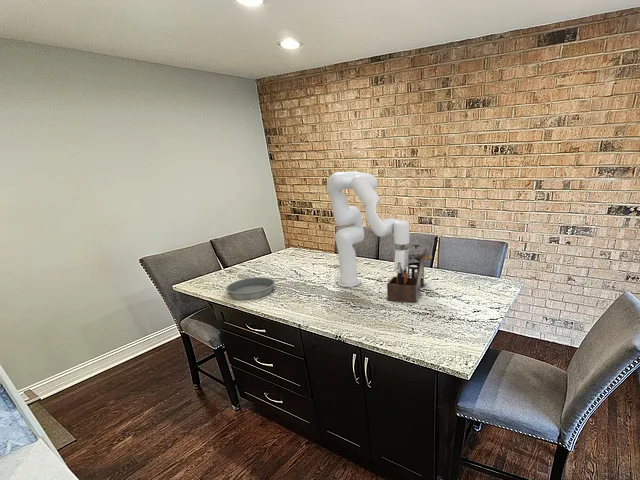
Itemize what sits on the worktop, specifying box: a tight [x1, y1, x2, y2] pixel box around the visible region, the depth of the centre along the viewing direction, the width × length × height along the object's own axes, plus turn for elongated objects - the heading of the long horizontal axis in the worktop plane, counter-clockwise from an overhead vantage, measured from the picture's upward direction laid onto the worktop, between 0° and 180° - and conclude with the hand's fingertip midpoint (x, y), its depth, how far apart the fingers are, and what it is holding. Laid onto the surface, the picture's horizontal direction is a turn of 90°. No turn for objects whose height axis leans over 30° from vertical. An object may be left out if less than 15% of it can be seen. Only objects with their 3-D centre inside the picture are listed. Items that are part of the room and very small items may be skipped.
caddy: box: [386, 276, 422, 304], centre depth 172 cm, size 15×12×9 cm
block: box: [396, 271, 408, 284], centre depth 170 cm, size 4×4×4 cm
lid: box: [415, 248, 433, 285], centre depth 164 cm, size 15×12×5 cm
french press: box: [407, 244, 425, 288], centre depth 185 cm, size 12×9×23 cm
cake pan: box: [225, 276, 276, 301], centre depth 183 cm, size 25×25×4 cm
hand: (402, 281), depth 170 cm, fingers closed on block, 4 cm apart
